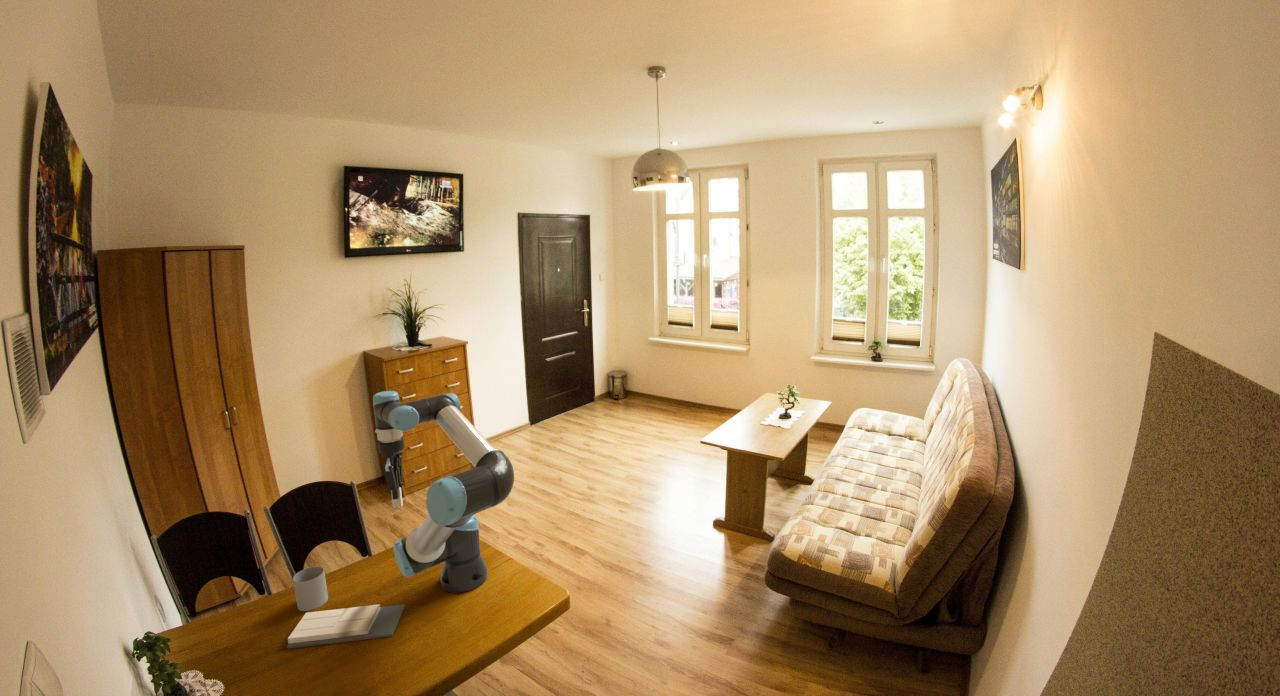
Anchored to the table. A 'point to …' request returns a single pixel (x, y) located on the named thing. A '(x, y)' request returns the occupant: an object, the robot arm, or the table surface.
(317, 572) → the cup
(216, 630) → the table surface
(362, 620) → the loose plank
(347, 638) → the floor section
